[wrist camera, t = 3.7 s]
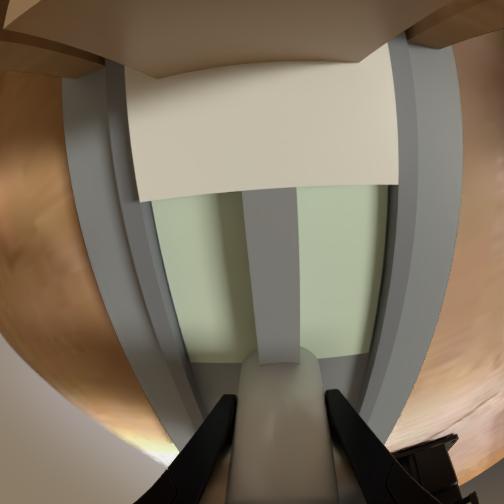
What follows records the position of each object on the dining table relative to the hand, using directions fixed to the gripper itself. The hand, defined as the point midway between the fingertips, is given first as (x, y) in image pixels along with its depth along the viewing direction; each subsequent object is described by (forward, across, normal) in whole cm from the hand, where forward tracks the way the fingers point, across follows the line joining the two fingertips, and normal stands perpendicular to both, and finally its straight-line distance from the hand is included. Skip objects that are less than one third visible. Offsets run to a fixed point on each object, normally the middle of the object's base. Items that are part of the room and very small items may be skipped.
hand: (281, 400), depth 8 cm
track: (+2, 0, -5) cm, 6 cm away
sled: (+1, 0, -7) cm, 7 cm away
